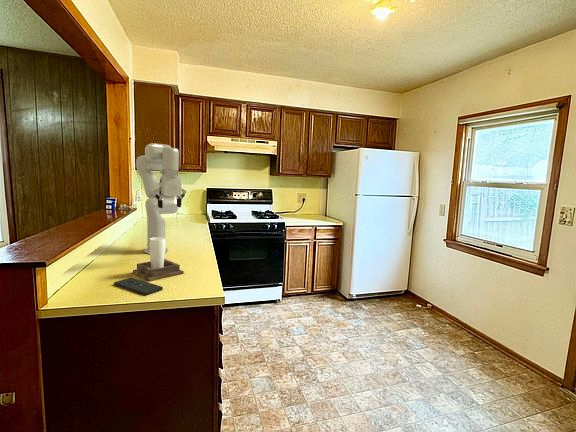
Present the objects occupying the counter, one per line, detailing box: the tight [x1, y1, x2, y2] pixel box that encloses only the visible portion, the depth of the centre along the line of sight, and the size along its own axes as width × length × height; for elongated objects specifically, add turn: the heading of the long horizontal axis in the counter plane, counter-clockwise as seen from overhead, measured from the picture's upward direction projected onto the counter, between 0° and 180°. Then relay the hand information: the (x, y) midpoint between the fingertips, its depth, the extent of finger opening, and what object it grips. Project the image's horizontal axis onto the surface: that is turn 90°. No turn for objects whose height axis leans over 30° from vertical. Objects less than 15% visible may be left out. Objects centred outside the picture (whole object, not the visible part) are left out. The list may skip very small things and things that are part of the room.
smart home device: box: [113, 276, 164, 297], centre depth 123 cm, size 8×2×20 cm
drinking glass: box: [149, 237, 166, 269], centre depth 140 cm, size 7×7×15 cm
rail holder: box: [132, 258, 185, 282], centre depth 141 cm, size 16×16×4 cm
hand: (169, 207), depth 154 cm, fingers open, 9 cm apart
